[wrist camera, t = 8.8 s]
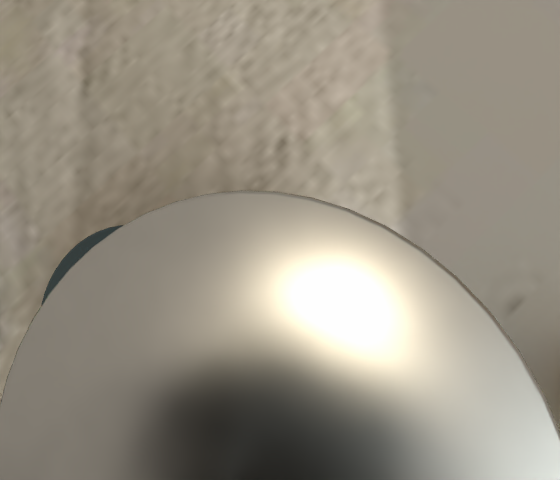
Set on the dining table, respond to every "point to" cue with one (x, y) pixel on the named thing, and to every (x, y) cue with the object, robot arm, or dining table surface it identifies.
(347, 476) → the can
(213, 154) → the dining table surface
